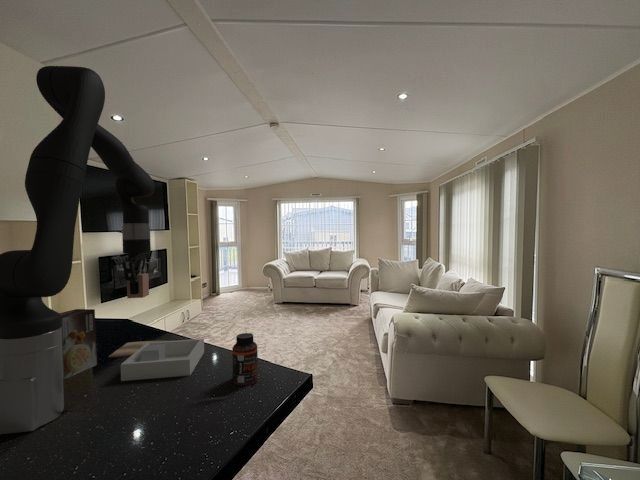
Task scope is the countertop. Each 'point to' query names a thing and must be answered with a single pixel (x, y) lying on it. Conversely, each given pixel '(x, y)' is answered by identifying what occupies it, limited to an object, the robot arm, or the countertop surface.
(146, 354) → the plain block
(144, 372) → the bin
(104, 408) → the countertop surface
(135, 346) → the board
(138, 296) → the labelled block
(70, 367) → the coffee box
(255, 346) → the supplement bottle
